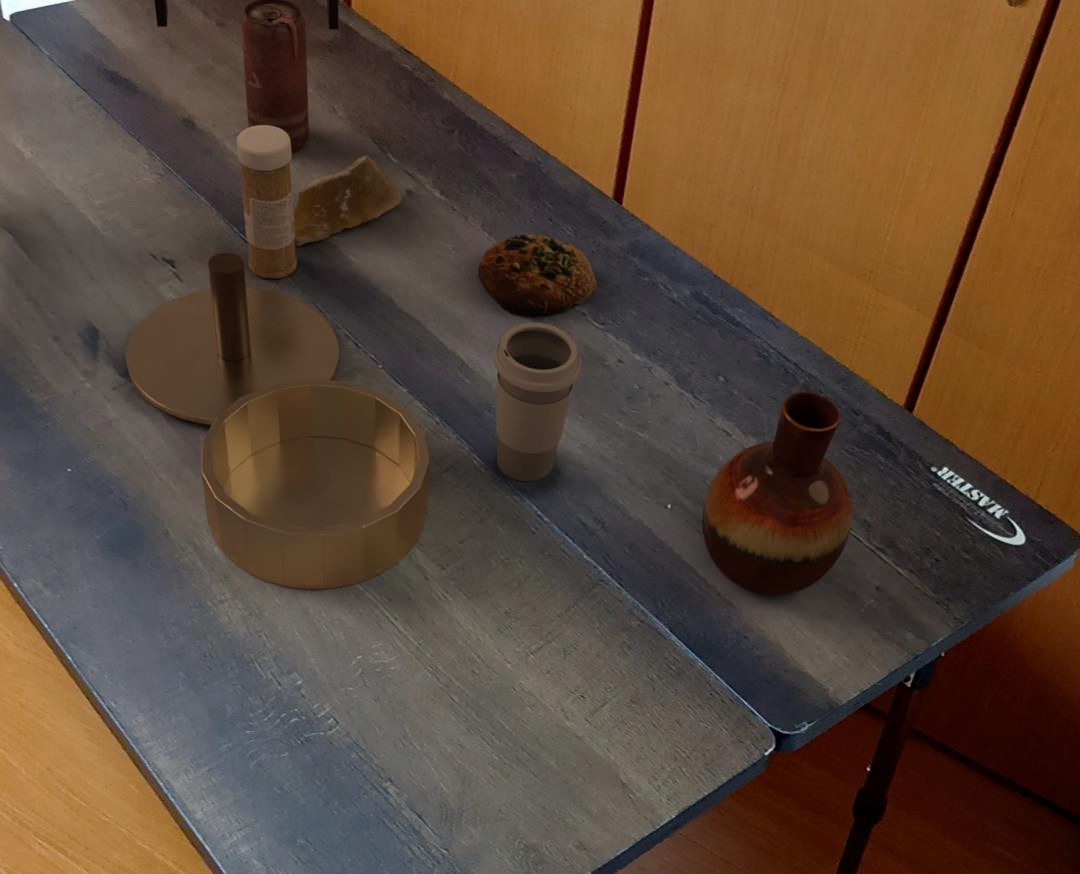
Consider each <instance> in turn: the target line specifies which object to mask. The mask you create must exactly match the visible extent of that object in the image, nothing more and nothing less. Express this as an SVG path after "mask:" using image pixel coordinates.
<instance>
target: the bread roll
mask: <svg viewBox="0 0 1080 874" xmlns="http://www.w3.org/2000/svg"><path fill="white" fill-rule="evenodd" d="M477 276H478V277H477V278H478V280H480V283H481V284H482V286H483V288H484V290H485V291H486V293H487V294H488V295H489V296H490V297H491V298H492V300H494V301H495V302H497V304H498V305H499V306H500V307H501V308H502V309H503V310H505V311H507V312H508V313H512V314H517V315H528V316H541V315H542V314H544V315H553V314H557V313H562V312H565V311H569V310H570V309H572V307H573V306H574V305H581V304H583V303H585V302H586V301H588V300H589V299H590V298H591V296H592V294H593V291H594V290H595V289H596V288H597V281H596V277H595V274H594V270H593V267H592V265H591V263H590V262H589V260H588V257H586V255H585V254H584V253H583V252H582V251H581V250H579V249H577V248H576V247H575V246H574V245H573V244H572V243H570V242H567V241H566V242H565V243H564V242H561V241H559V240H557V239H556V238H553V237H547V236H544V235H536V234H525V233H524V234H521V235H520V236H518V235H517V234H515V235H514V237H513V236H511V237H507V238H506V239H505V240H502V241H499V242H497V243H495V244H494V245H492V246H491V247H490V248H488V249H486V250H485V252H484V255H483V256H482V258H481V260H480V261H479V263H478V268H477Z"/></svg>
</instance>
